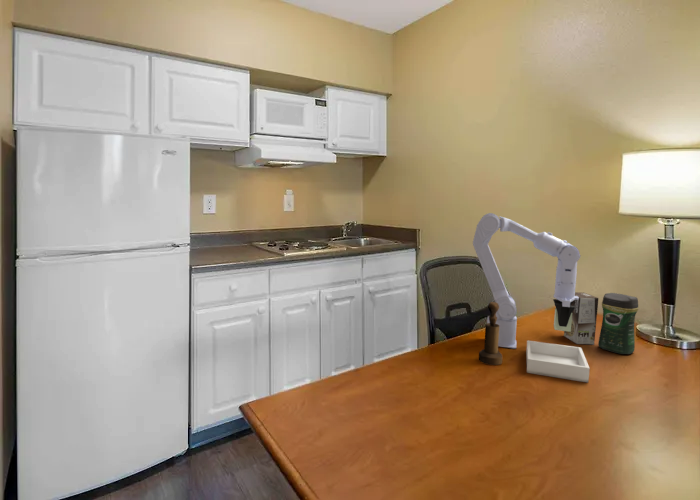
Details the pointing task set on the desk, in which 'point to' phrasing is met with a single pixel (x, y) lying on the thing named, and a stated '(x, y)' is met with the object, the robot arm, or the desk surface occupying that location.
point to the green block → (562, 328)
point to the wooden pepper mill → (491, 339)
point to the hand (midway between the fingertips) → (562, 324)
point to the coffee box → (583, 319)
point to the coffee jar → (618, 323)
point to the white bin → (557, 361)
